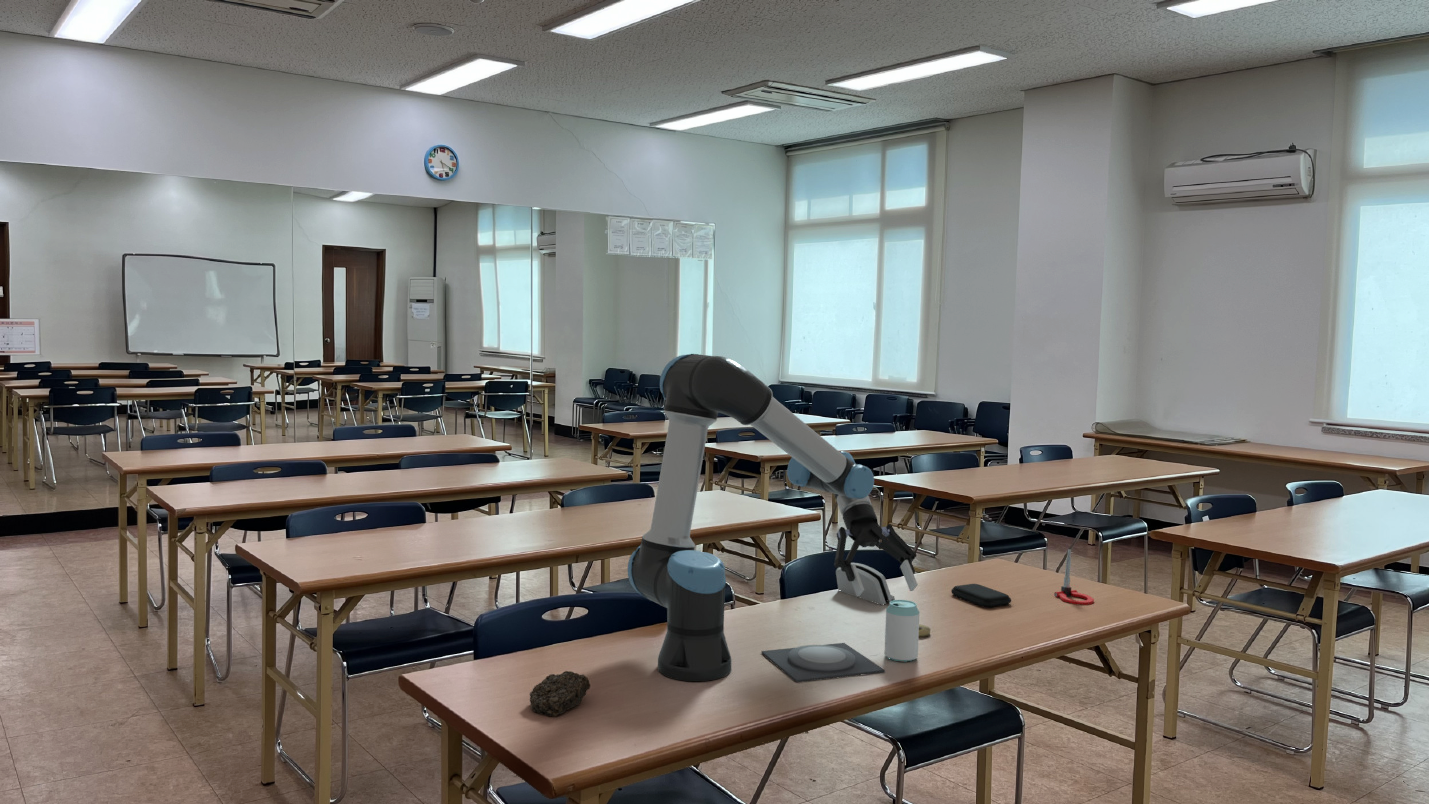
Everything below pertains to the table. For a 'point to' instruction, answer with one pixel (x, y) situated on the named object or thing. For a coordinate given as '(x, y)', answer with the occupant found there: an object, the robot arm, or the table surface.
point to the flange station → (821, 662)
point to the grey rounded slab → (866, 584)
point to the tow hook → (1067, 589)
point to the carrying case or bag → (981, 595)
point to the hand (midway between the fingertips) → (887, 590)
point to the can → (902, 630)
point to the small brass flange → (923, 631)
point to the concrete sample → (558, 693)
